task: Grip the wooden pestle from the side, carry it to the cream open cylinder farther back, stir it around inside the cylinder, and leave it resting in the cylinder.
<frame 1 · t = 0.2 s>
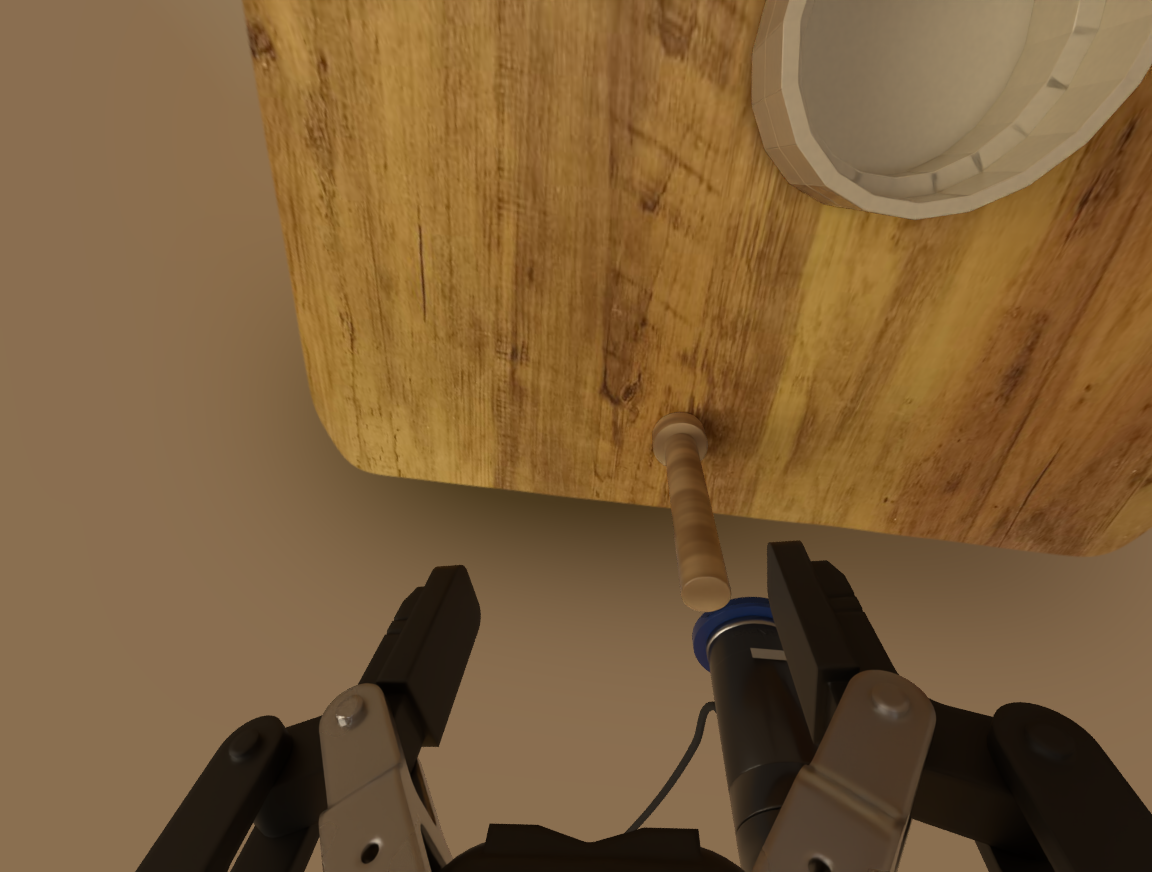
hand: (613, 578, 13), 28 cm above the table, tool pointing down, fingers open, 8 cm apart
cream open cylinder: (897, 51, 29), on the table
wooden pestle: (678, 435, 42), on the table
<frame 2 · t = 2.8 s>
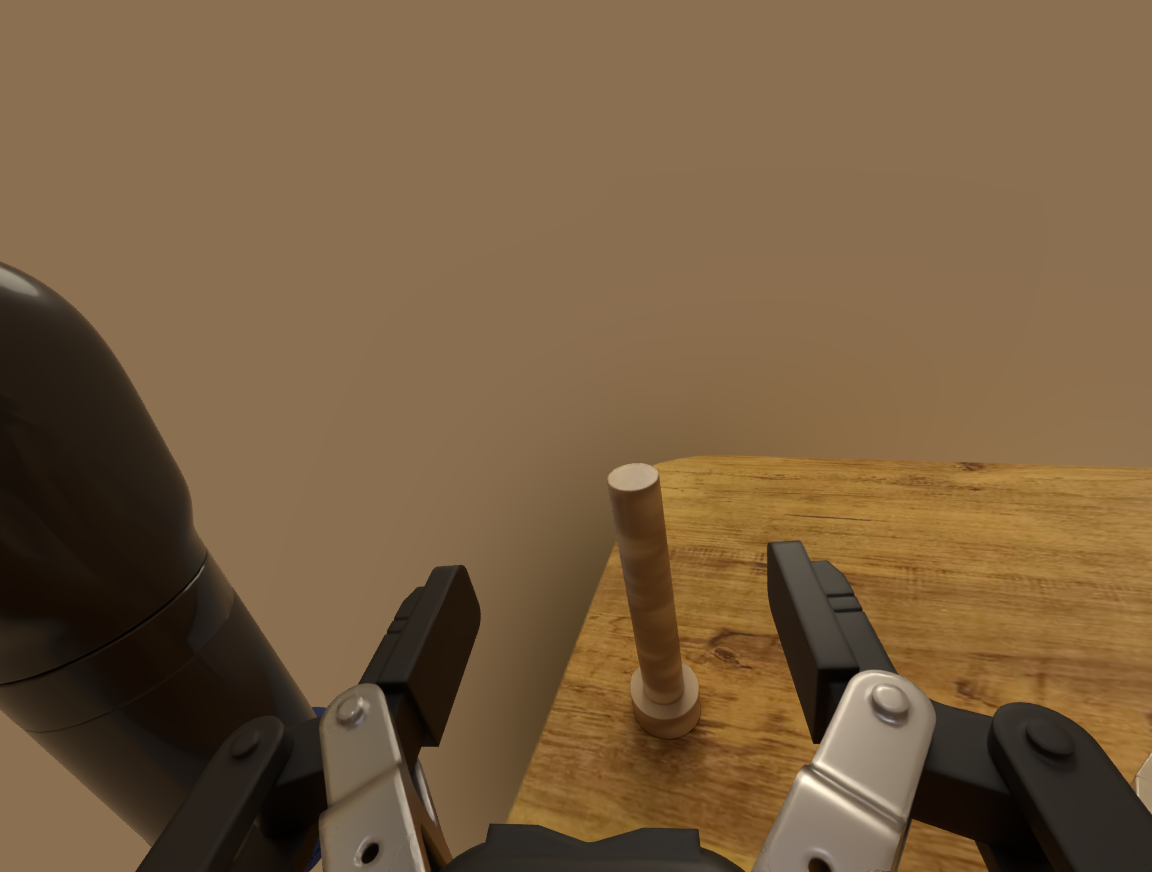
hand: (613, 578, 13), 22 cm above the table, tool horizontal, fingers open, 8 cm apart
wooden pestle: (666, 705, 32), on the table
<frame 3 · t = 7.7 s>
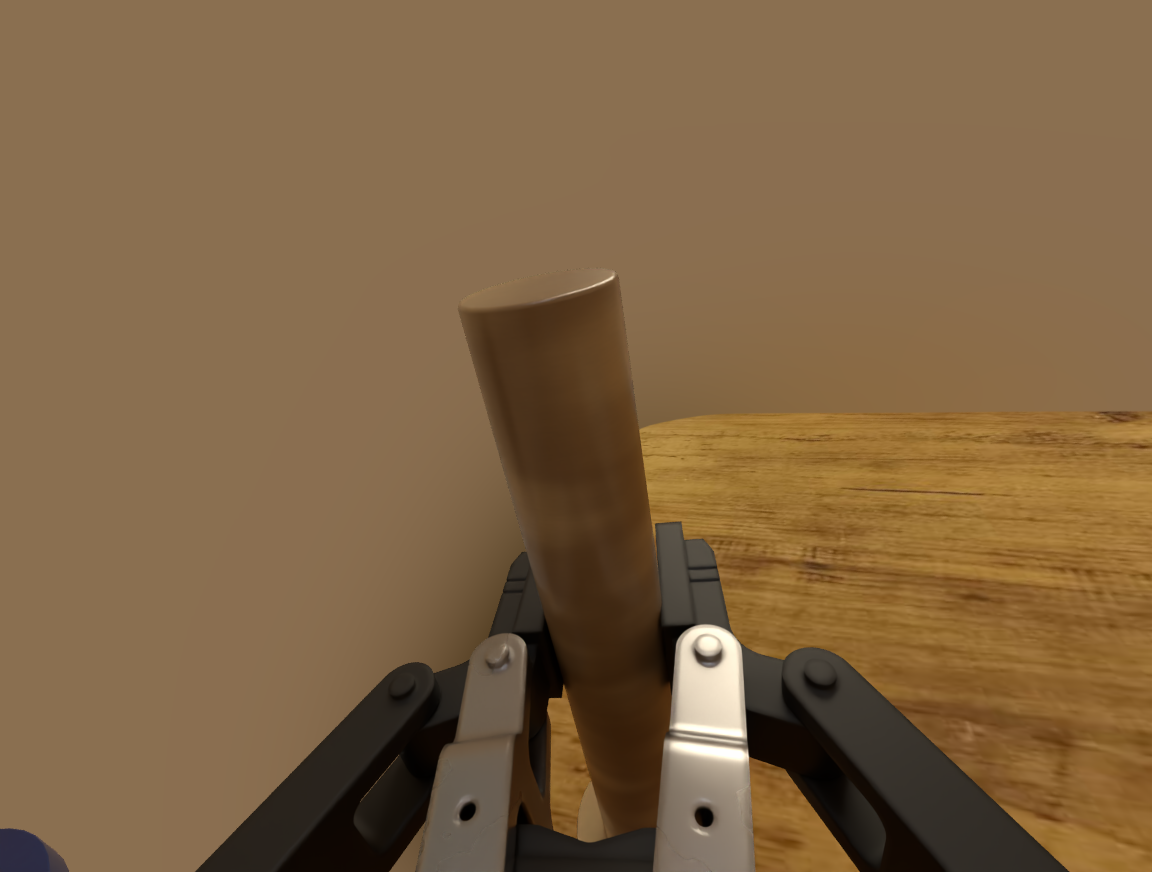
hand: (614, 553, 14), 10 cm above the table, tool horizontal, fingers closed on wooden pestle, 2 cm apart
wooden pestle: (654, 855, 16), on the table, touching gripper
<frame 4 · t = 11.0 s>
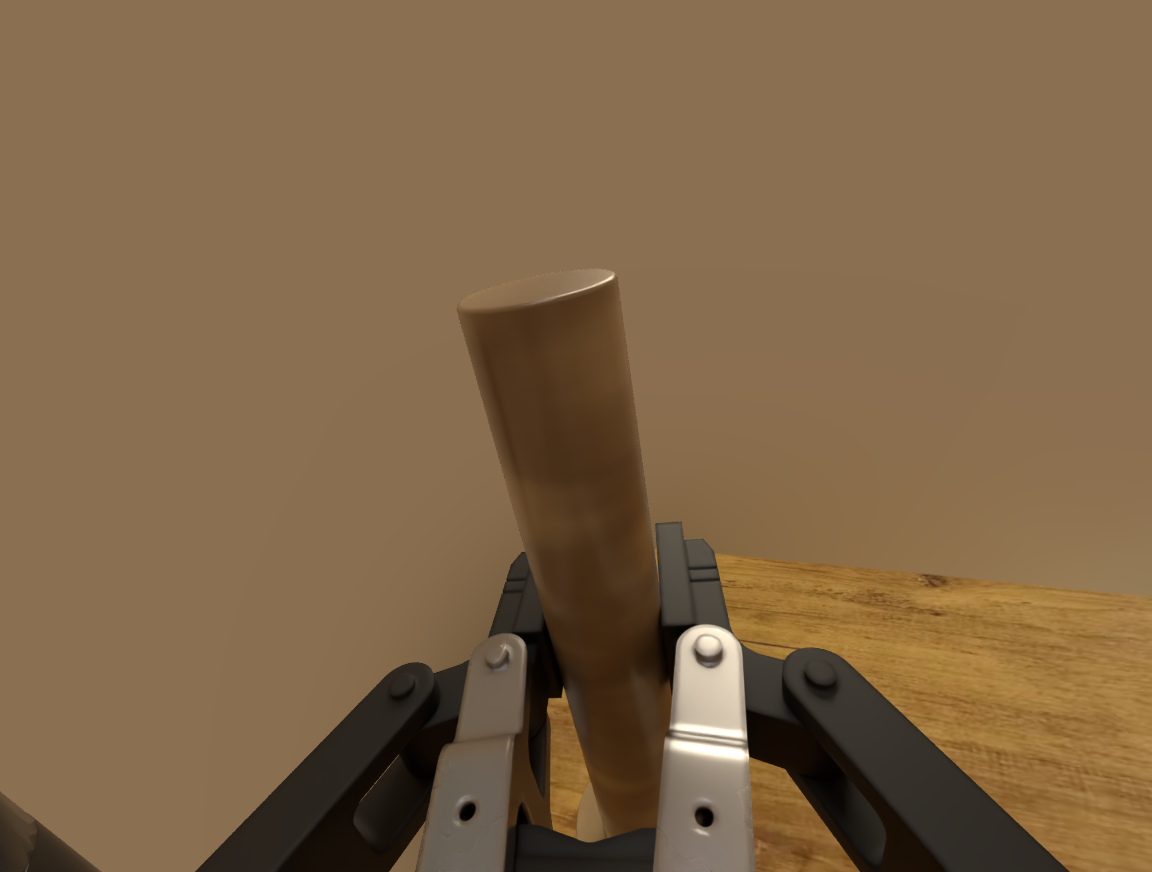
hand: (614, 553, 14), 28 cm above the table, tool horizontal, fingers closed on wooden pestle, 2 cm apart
wooden pestle: (654, 855, 16), point 18 cm above the table, touching gripper
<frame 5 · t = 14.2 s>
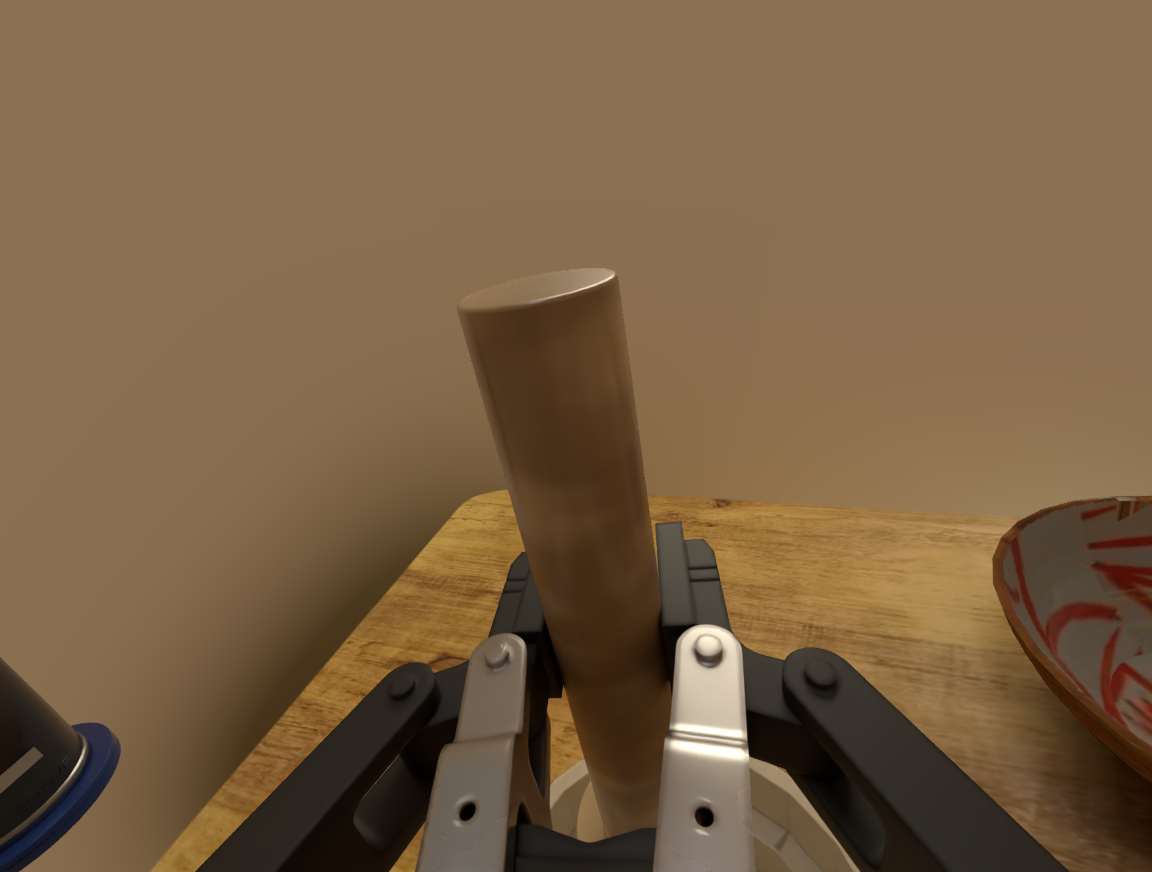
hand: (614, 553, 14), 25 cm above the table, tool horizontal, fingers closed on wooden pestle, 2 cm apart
wooden pestle: (654, 855, 16), point 15 cm above the table, touching gripper
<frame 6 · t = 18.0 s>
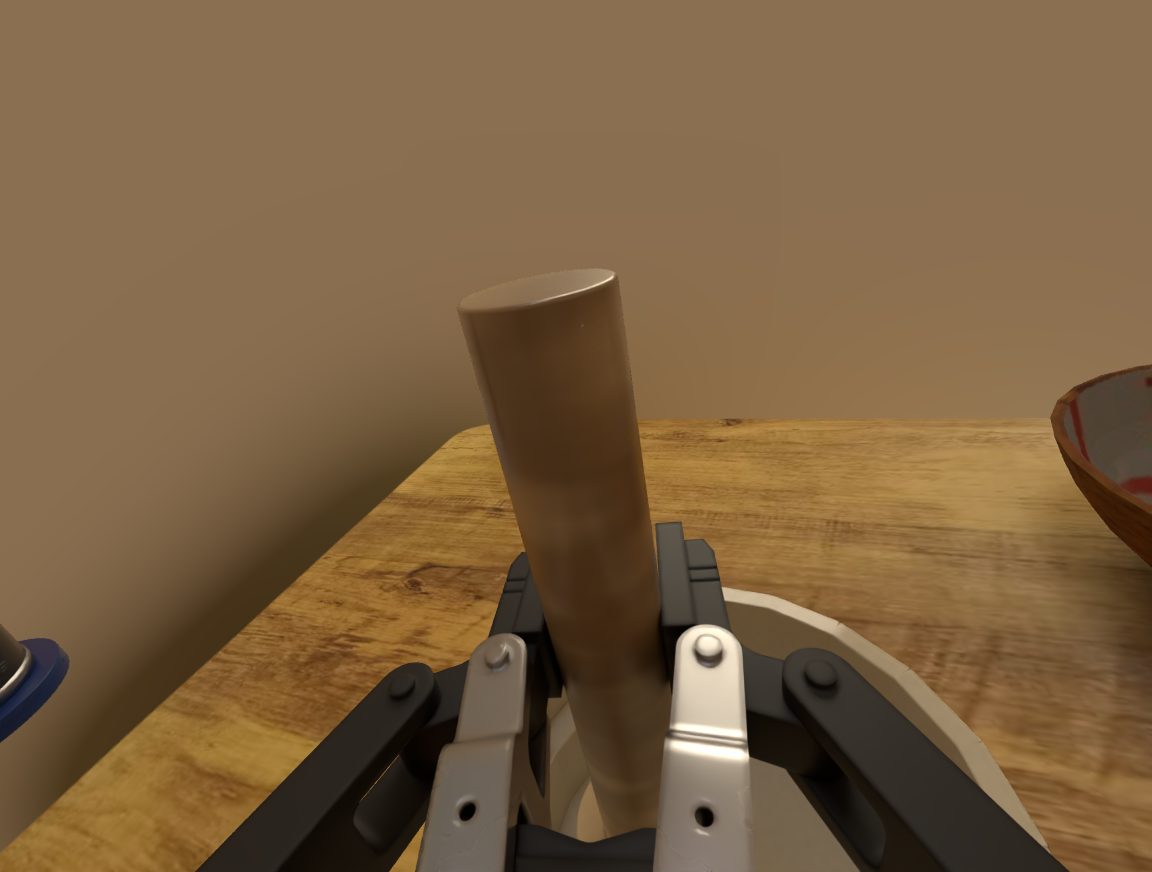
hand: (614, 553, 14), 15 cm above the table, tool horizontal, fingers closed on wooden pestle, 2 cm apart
wooden pestle: (654, 855, 16), point 5 cm above the table, touching gripper
when the fingers open (11 cm above the table, at t = 20.7 s): wooden pestle stays where it is, resting on cream open cylinder.
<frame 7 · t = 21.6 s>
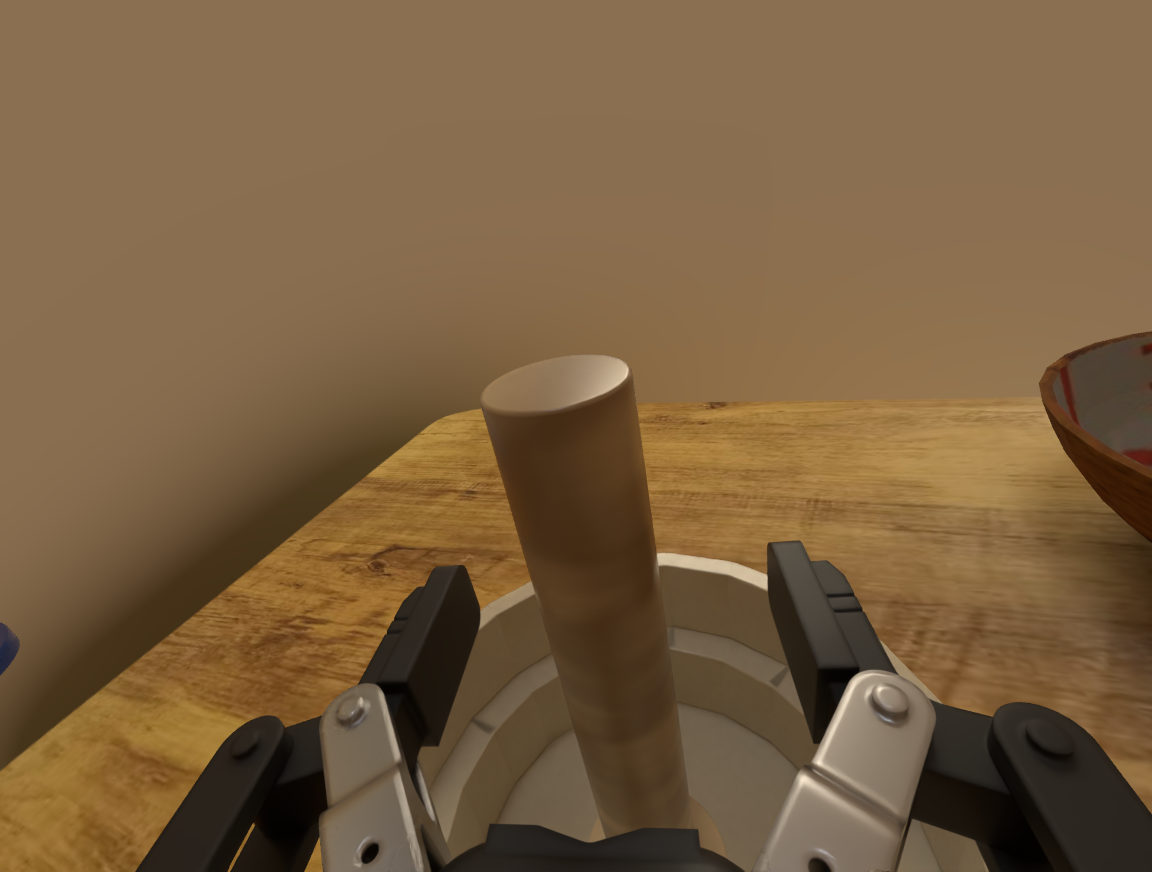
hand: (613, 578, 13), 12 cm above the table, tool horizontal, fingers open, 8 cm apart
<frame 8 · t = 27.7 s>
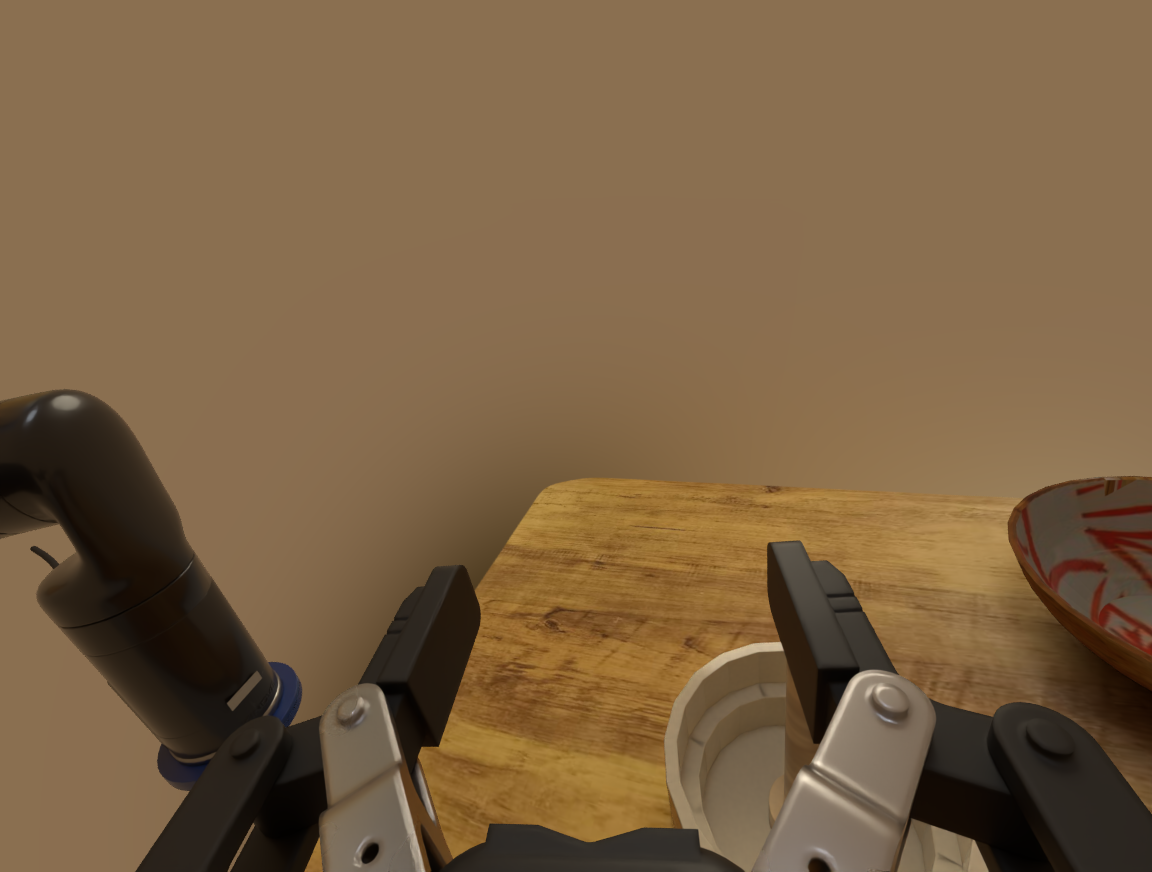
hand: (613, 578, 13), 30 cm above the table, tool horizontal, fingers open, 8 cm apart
cream open cylinder: (804, 828, 32), on the table
wooden pestle: (805, 825, 32), point 1 cm above the table, touching cream open cylinder
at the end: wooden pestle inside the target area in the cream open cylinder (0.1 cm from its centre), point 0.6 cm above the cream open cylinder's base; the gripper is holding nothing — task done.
